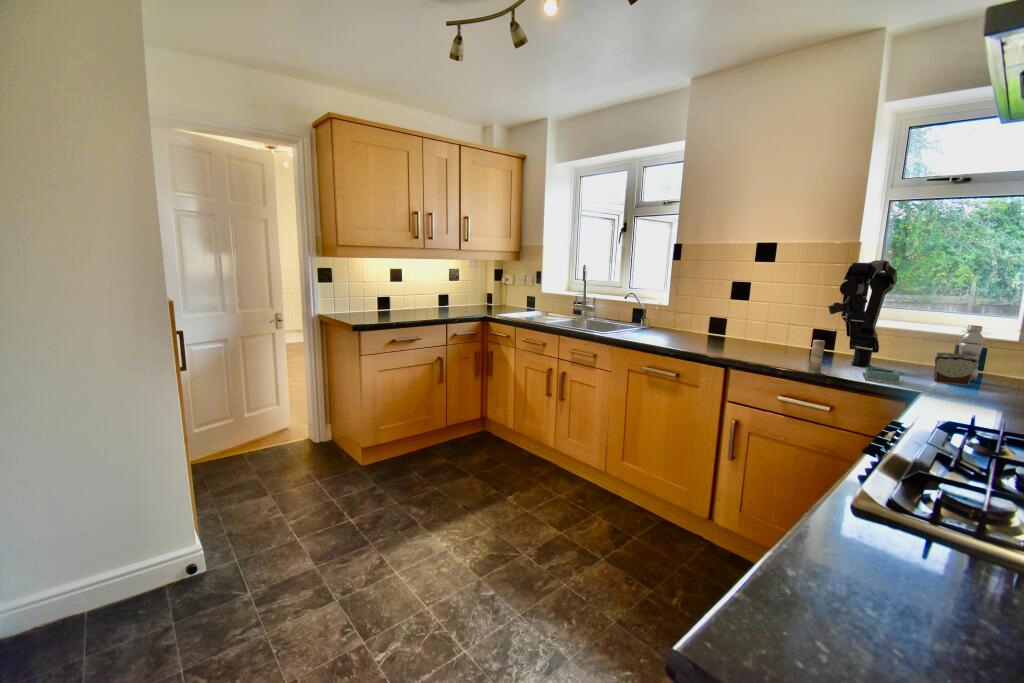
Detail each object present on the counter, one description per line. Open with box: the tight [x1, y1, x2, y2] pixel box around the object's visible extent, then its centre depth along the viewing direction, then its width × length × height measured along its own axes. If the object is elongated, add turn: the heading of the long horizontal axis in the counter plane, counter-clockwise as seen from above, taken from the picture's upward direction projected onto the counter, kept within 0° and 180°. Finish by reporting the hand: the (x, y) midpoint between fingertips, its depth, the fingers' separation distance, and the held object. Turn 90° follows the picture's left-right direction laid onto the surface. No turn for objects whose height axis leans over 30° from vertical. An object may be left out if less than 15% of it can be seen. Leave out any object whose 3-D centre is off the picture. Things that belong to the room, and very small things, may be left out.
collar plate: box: [862, 366, 902, 385], centre depth 163 cm, size 10×10×3 cm
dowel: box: [808, 339, 826, 375], centre depth 170 cm, size 4×4×12 cm
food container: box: [932, 352, 980, 386], centre depth 164 cm, size 12×6×10 cm, turn 71°
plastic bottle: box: [958, 324, 986, 382], centre depth 166 cm, size 6×7×20 cm
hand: (850, 337), depth 175 cm, fingers open, 9 cm apart
